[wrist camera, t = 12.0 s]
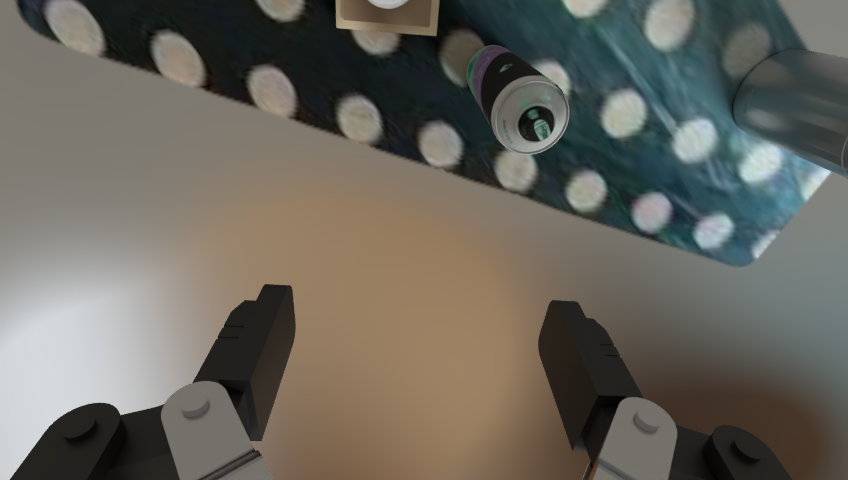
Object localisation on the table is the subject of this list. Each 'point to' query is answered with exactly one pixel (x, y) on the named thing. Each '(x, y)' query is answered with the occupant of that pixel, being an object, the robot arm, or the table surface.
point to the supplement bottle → (388, 3)
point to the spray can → (517, 100)
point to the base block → (389, 17)
